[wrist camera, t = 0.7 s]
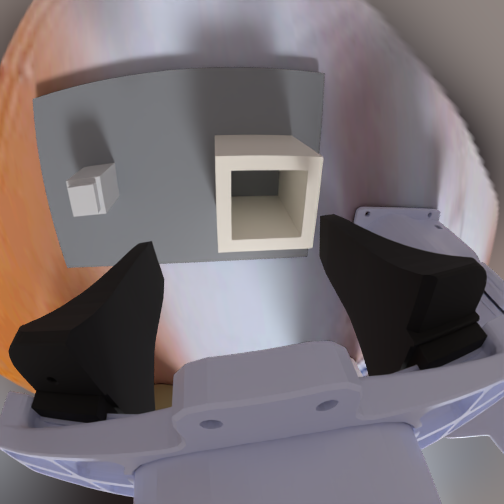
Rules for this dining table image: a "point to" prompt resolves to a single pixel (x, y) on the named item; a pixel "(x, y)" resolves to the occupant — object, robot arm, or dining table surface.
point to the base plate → (163, 157)
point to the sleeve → (267, 207)
